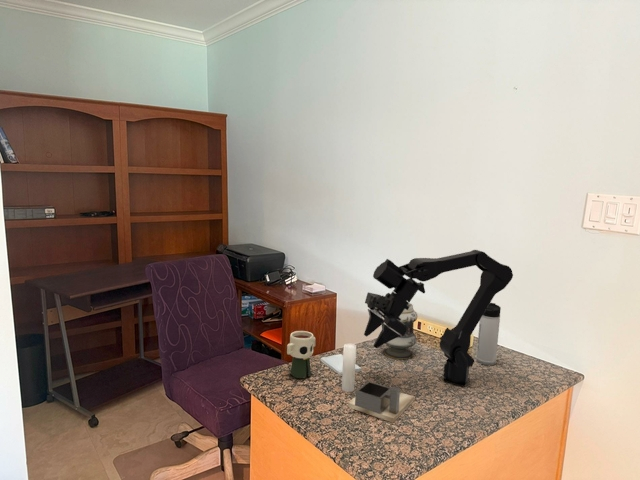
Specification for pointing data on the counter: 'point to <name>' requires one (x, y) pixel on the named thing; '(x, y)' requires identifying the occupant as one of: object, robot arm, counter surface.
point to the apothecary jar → (403, 337)
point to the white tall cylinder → (348, 367)
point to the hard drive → (337, 363)
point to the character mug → (301, 352)
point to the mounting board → (386, 415)
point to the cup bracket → (377, 397)
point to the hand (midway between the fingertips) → (369, 341)
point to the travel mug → (488, 335)
